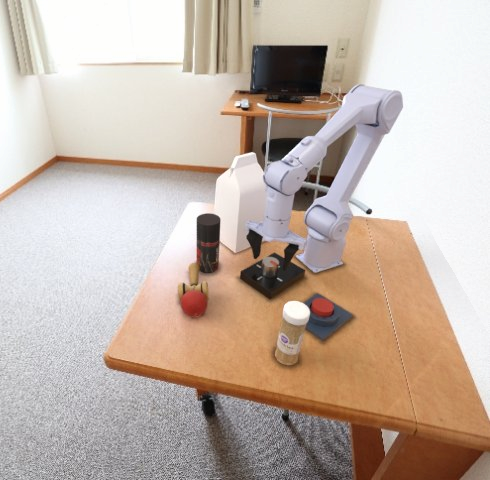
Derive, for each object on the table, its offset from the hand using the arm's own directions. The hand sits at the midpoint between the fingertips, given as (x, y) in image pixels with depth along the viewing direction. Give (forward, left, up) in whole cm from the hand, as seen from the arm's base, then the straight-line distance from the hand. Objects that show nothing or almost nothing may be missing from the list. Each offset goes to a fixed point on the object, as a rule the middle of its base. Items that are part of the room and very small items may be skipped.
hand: (270, 262), depth 86 cm
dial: (0, 0, -3) cm, 3 cm away
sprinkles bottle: (+10, +21, -6) cm, 24 cm away
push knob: (-3, +15, -4) cm, 16 cm away
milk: (-3, -20, -6) cm, 22 cm away
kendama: (+20, -3, -6) cm, 21 cm away
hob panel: (-1, 0, -6) cm, 6 cm away
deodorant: (+12, -11, -6) cm, 17 cm away
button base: (-3, +15, -6) cm, 17 cm away
